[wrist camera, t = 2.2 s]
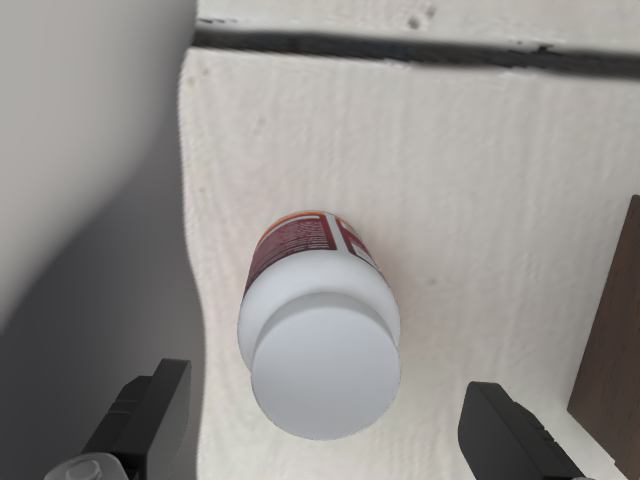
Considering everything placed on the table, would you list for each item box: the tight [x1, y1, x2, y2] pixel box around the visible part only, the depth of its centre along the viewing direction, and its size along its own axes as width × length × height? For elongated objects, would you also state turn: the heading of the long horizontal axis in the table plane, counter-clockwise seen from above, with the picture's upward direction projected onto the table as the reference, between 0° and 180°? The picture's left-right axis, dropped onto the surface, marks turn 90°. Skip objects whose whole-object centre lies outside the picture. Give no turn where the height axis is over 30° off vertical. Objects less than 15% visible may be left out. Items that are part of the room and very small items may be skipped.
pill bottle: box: [237, 211, 401, 440], centre depth 18 cm, size 6×6×11 cm
